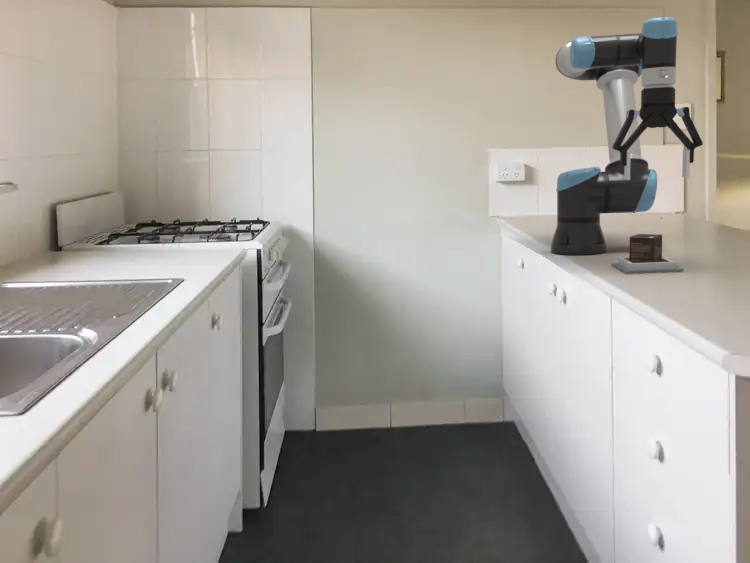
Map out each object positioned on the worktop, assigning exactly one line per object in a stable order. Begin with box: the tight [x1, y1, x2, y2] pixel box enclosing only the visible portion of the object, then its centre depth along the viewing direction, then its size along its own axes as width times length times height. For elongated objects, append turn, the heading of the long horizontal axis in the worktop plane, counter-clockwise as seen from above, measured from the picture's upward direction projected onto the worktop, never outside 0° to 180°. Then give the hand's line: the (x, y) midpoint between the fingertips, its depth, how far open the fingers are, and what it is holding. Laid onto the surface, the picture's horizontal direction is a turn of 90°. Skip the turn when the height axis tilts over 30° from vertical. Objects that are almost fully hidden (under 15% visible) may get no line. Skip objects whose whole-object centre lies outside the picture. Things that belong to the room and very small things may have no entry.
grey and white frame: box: [611, 255, 684, 275], centre depth 182 cm, size 13×13×2 cm
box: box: [628, 233, 663, 263], centre depth 182 cm, size 6×6×7 cm
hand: (656, 178), depth 183 cm, fingers open, 13 cm apart
